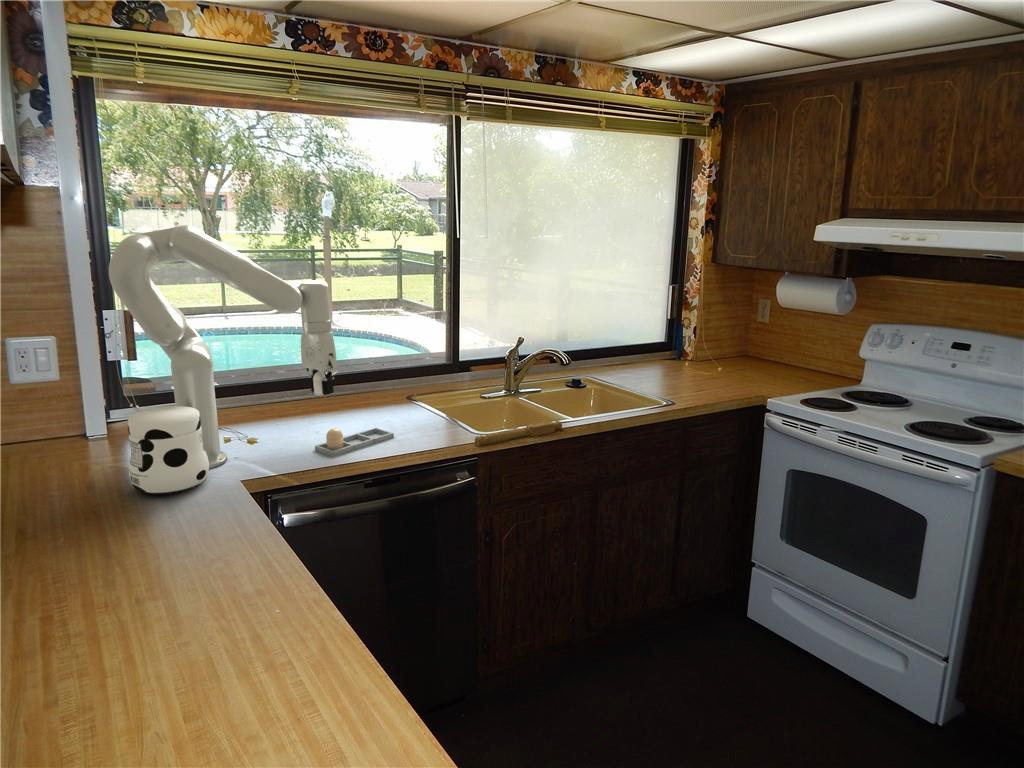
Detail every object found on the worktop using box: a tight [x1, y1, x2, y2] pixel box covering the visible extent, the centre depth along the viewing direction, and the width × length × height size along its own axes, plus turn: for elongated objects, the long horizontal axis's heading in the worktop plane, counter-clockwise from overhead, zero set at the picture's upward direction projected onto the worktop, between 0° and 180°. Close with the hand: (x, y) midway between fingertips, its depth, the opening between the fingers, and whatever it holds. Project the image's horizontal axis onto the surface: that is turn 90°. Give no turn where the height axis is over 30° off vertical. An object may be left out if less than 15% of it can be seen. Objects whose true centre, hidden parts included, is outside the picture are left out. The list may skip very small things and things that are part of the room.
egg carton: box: [312, 427, 398, 459], centre depth 202 cm, size 23×9×2 cm, turn 141°
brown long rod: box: [474, 420, 563, 447], centre depth 214 cm, size 3×3×30 cm
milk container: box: [127, 405, 210, 496], centre depth 172 cm, size 17×17×18 cm
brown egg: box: [325, 427, 344, 451], centre depth 196 cm, size 4×4×6 cm
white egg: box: [313, 371, 328, 396], centre depth 198 cm, size 4×4×6 cm
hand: (322, 391), depth 199 cm, fingers closed on white egg, 4 cm apart
